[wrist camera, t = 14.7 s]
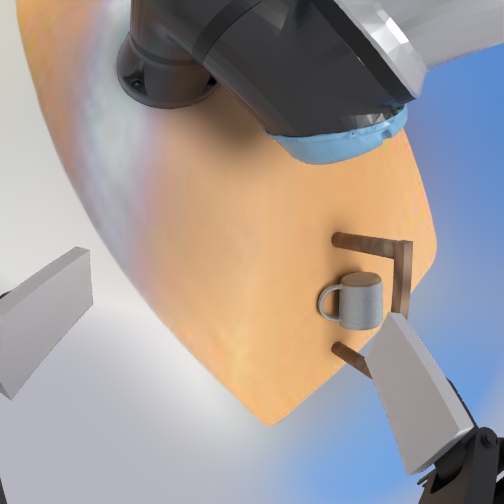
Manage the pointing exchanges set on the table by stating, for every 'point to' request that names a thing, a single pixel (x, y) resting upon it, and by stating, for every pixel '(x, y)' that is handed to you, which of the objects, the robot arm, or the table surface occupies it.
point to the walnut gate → (401, 281)
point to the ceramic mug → (357, 301)
